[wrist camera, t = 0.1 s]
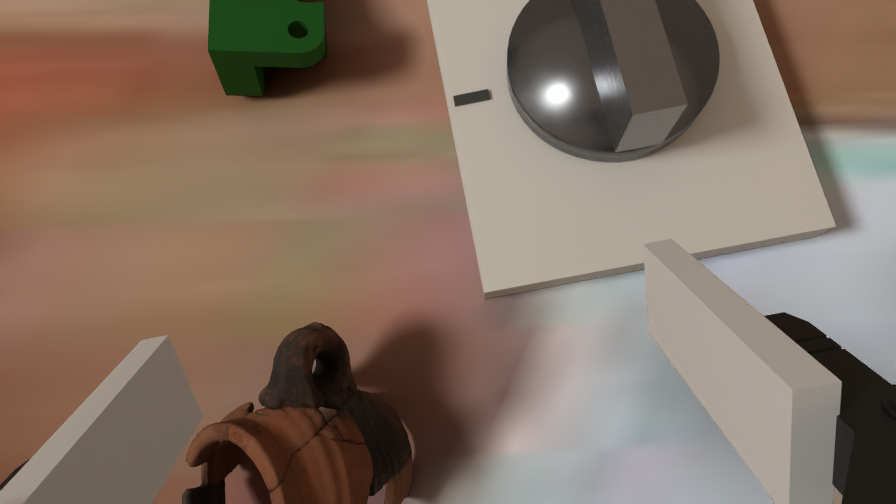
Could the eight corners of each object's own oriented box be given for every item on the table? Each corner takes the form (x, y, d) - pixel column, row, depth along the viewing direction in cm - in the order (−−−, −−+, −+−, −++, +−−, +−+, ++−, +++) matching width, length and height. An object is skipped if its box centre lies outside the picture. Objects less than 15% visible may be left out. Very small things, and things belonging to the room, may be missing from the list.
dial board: (814, 237, 30) (837, 225, 28) (484, 299, 31) (484, 292, 29) (698, -91, 36) (710, -121, 34) (420, -32, 37) (415, -58, 35)
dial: (735, 139, 30) (790, 80, 24) (529, 179, 30) (536, 131, 25) (677, -33, 33) (715, -122, 27) (489, 6, 33) (488, -73, 27)
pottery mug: (426, 556, 29) (304, 655, 22) (295, 508, 34) (162, 576, 27) (428, 319, 29) (306, 343, 22) (296, 307, 34) (163, 322, 27)
